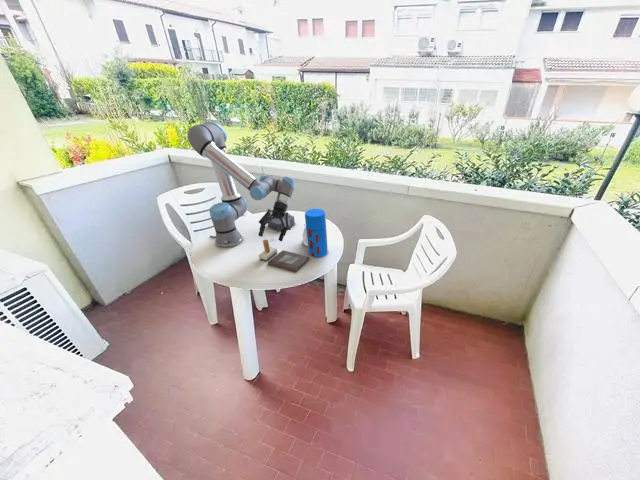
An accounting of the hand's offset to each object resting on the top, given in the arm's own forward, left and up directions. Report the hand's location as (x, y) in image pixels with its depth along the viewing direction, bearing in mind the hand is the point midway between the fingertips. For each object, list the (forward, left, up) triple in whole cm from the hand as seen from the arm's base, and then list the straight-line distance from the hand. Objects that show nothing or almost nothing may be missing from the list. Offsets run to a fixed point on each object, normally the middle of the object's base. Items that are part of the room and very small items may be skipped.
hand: (270, 238), depth 158 cm
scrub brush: (0, -4, -10) cm, 10 cm away
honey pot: (+15, +21, -10) cm, 28 cm away
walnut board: (+14, -4, -10) cm, 17 cm away
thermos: (+24, +11, -10) cm, 28 cm away
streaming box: (-17, +32, -10) cm, 38 cm away
